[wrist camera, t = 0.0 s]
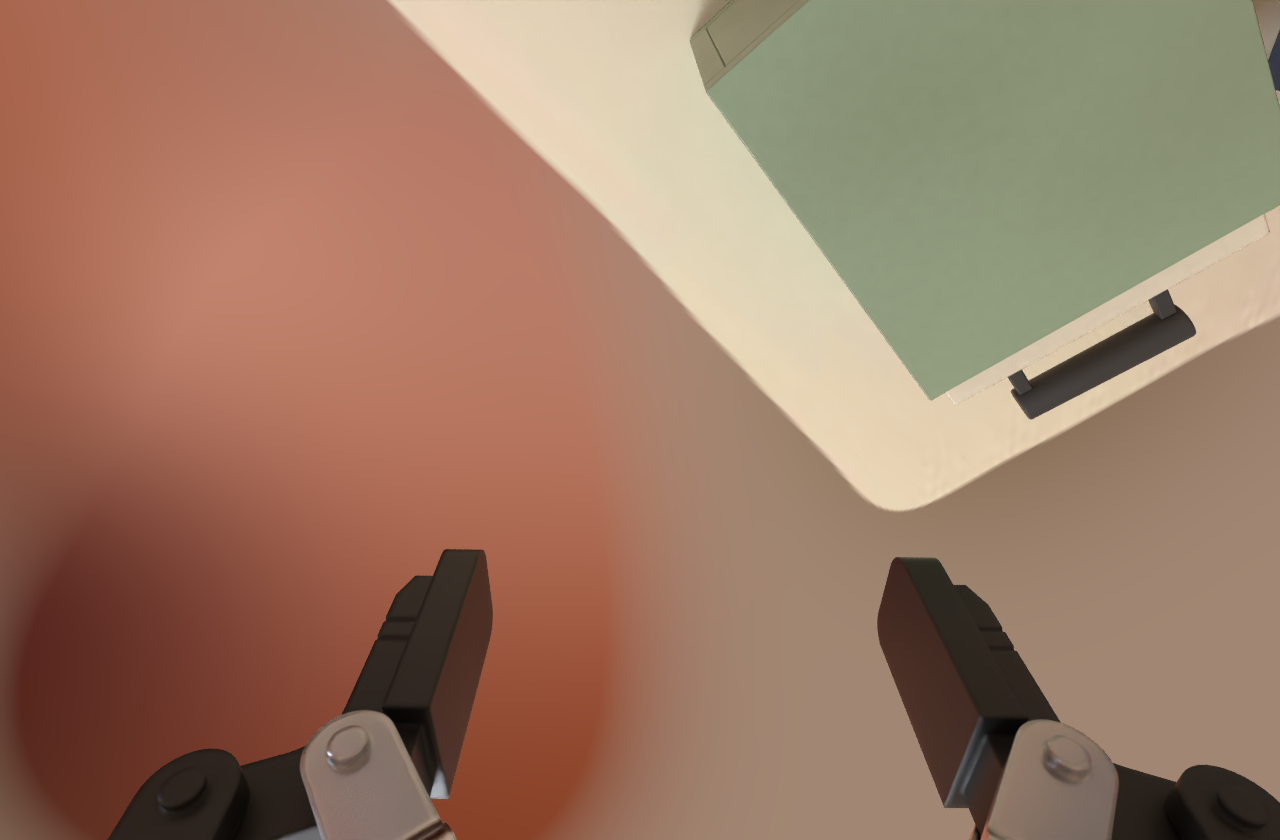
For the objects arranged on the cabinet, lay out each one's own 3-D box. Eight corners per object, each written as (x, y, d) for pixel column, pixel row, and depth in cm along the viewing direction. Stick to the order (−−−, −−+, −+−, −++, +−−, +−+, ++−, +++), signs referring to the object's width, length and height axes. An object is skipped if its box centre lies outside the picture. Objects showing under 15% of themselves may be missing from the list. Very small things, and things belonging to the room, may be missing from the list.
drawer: (1173, 253, 32) (1302, 338, 25) (945, 382, 36) (1007, 480, 30) (1017, -145, 23) (1155, -164, 17) (743, 91, 27) (771, 145, 21)
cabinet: (1128, 117, 29) (1302, 193, 21) (866, 290, 34) (930, 401, 26) (989, -243, 22) (1171, -323, 14) (688, 39, 27) (705, 91, 19)
